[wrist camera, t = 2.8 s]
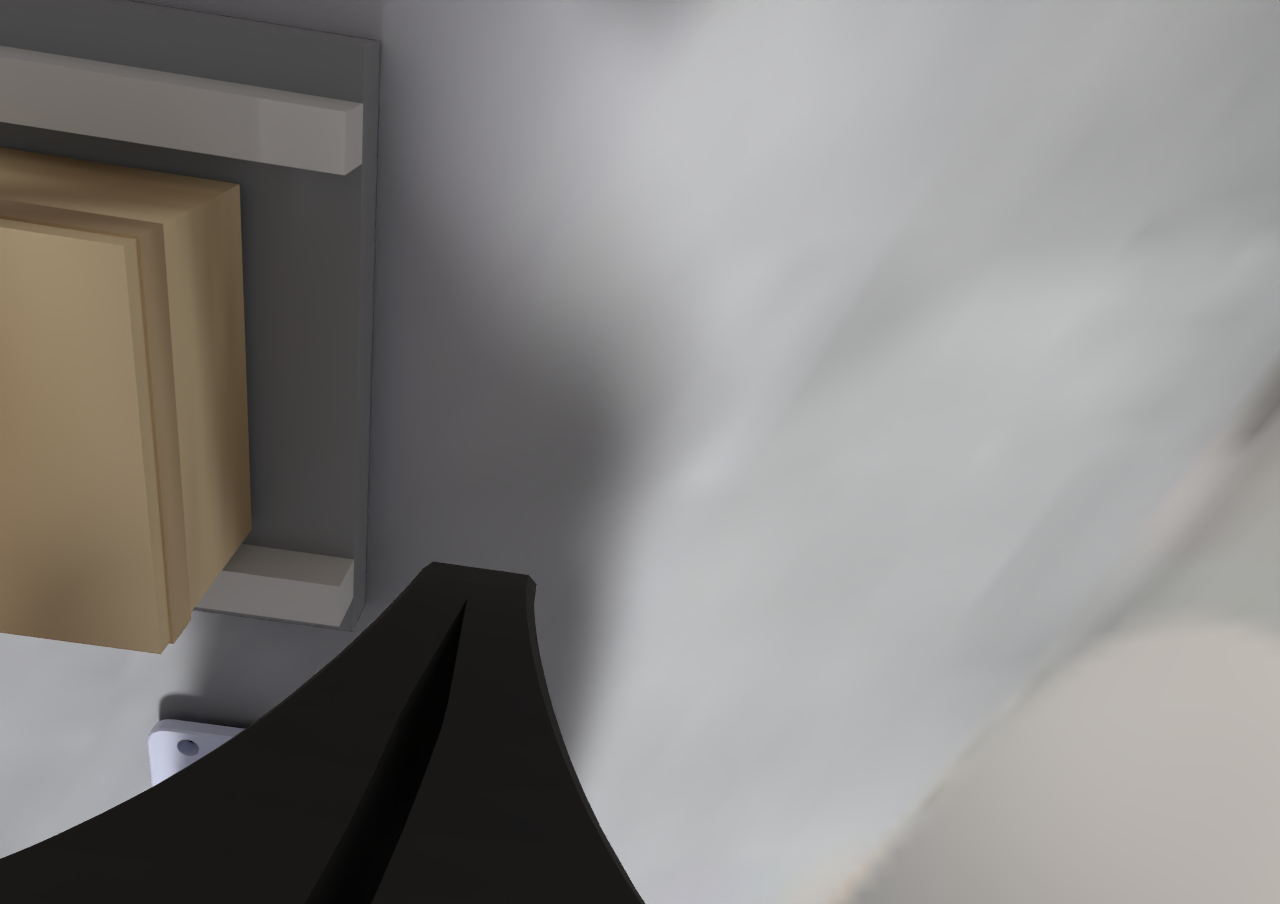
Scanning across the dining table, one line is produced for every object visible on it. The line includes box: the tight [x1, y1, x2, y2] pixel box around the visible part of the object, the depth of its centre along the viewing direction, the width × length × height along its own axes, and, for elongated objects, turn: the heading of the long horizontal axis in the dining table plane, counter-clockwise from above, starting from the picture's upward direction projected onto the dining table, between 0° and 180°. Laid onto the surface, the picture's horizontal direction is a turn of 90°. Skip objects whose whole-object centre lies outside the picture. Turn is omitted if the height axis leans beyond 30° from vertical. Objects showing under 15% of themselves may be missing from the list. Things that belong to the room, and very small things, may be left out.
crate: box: [0, 147, 252, 654], centre depth 17 cm, size 6×7×4 cm
